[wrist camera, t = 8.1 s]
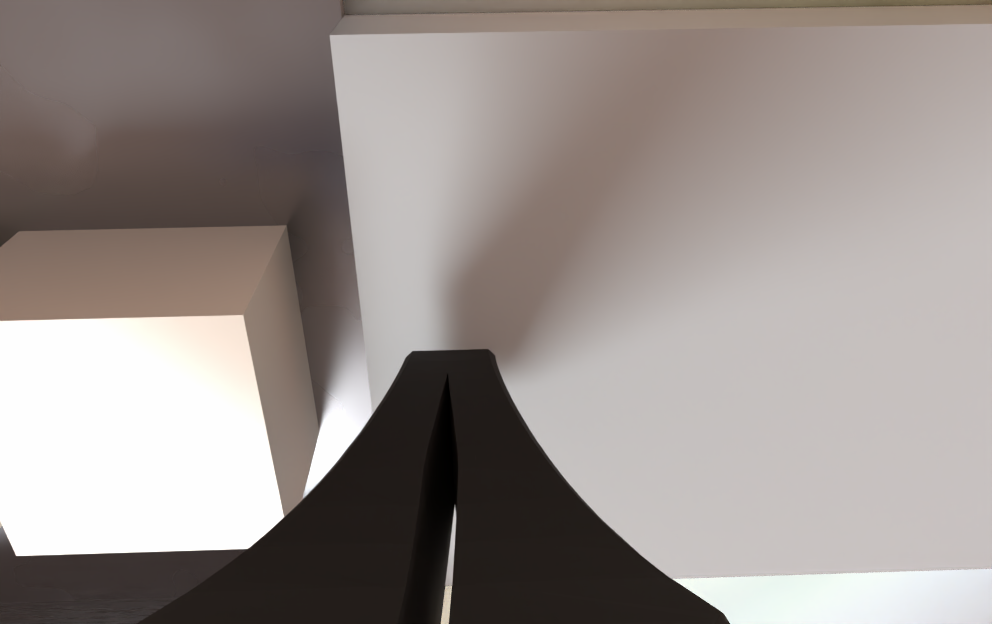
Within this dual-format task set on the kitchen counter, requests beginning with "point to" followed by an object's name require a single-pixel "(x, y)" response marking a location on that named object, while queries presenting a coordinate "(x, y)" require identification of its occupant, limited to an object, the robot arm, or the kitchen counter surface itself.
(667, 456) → the grey board
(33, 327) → the tile
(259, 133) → the grey u-shaped frame
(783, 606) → the kitchen counter surface
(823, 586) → the kitchen counter surface
